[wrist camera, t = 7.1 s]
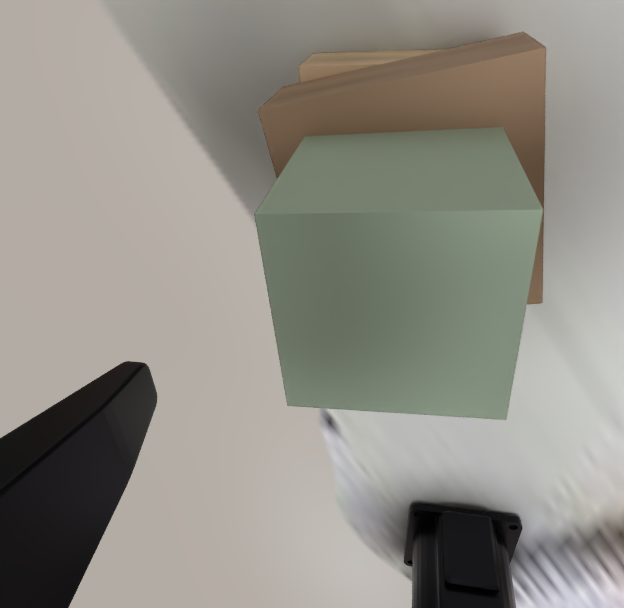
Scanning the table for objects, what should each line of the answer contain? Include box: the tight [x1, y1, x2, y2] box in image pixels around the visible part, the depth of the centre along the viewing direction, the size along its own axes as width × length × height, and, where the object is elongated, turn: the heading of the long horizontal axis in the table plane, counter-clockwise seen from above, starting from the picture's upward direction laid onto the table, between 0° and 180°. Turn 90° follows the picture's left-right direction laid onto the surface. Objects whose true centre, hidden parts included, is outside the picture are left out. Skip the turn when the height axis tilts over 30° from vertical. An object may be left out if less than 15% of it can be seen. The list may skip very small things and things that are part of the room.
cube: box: [254, 127, 543, 420], centre depth 12 cm, size 5×5×5 cm
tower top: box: [258, 32, 546, 304], centre depth 15 cm, size 7×7×3 cm
